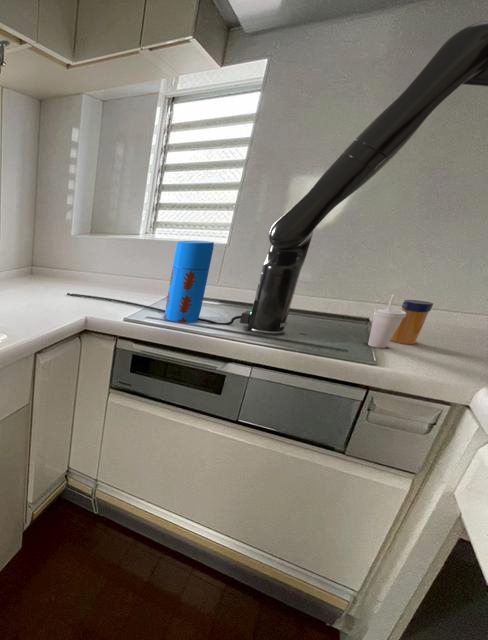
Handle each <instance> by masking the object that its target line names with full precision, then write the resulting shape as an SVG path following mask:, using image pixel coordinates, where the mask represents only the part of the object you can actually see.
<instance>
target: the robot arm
mask: <svg viewBox="0 0 488 640" xmlns="http://www.w3.org/2000/svg"><path fill="white" fill-rule="evenodd" d="M462 85H463V86H465V85H466V86H475V87H476V86H478V87H488V20H483V21H482V20H481V21H478V22H474V23H471V24H470V25H468V26H467V25H466V27H463V28H461V29H460V30H459V31H457V32H455V33H454V34H452V35H451V36H450V37H449V38H448V39H447V40H446V41H445V42H444V43H443V44H442V45H441V46H440V48H439V49H438V50H437V51H436V53H435V54H434V55H433V56H432V58H431V59H430V60H429V61H428V63H426V65H425V66H424V67H423V69H422V70H421V71H420V72H419V73H418V74H417V75H416V77H415V78H414V79H413V81H412V82H411V83H410V84H409V85H408V86H407V87H406V88H405V90H403V92H402V93H401V94H400V95H399V96H398V97H397V98H396V99H394V101H392V103H391V104H389V105H388V106H387V107H386V108H385V109H384V110H383V111H382V112H381V113H379V115H378V116H376V118H375V119H374V120H373V121H371V123H370V124H369V125H368V126H367V127H366V128H365V129H364V130H363V131H362V132H360V133H359V134H358V135H357V136H356V137H355V138H354V140H352V142H351V143H350V144H349V145H348V146H347V147H346V148H345V149H344V150H343V151H342V152H341V153H340V154H339V155H338V157H337V158H336V159H335V160H334V161H333V163H332V164H330V166H328V168H327V169H326V171H325V172H324V173H323V174H322V175H321V176H320V177H319V179H318V180H317V181H316V182H315V184H314V185H313V186H312V187H311V189H309V191H308V192H307V193H306V194H305V195H304V196H303V197H302V198H300V200H299V201H298V202H296V203H295V204H294V205H293V206H292V207H291V208H290V209H289V210H287V211H286V212H285V213H284V214H283V215H282V216H281V217H279V218H278V219H277V220H276V221H275V222H274V223H273V224H272V226H271V227H270V229H269V233H268V240H269V244H270V245H269V248H268V252H267V255H266V258H265V260H264V262H263V264H262V266H261V272H260V275H259V280H258V283H257V288H256V292H255V296H254V298H253V302H252V307H251V309H250V310H245V311H243V312H241V315H237V316H234V317H232V318H231V319H230V321H227V322H218V321H214V320H211V319H207V318H200V317H199V318H198V321H199V322H205V323H209V324H212V325H225V326H230V325H232V324H234V322H235V321H236V320H239V324H244V325H246V331H248V332H253V333H257V334H262V335H272V336H278V335H282V334H284V331H285V327H287V324H288V322H287V320H288V316H289V313H290V309H291V305H292V302H293V298H294V295H295V292H296V288H297V285H298V281H299V278H300V274H301V271H302V268H303V266H304V264H305V261H306V257H307V254H308V251H309V248H310V246H311V242H312V239H313V235H314V230H315V229H316V228H317V227H318V225H320V223H321V222H322V221H323V220H324V219H325V218H326V217H327V215H328V214H330V213H331V211H332V210H334V209H335V208H336V207H337V206H339V205H340V204H341V203H342V202H343V201H345V200H346V199H348V197H350V196H351V195H352V194H354V193H355V192H356V191H358V190H359V189H360V188H362V187H363V186H364V185H365V184H367V182H368V181H370V180H371V179H372V178H373V177H374V176H376V174H377V173H378V172H380V171H381V170H382V169H383V168H384V167H385V166H386V165H387V164H388V163H389V162H390V161H391V160H392V159H393V158H394V157H395V156H396V155H397V154H398V153H399V152H400V151H401V150H402V149H403V148H404V146H405V145H406V144H407V143H408V142H409V140H410V139H411V138H412V137H413V136H414V134H415V133H416V132H417V131H418V130H419V128H420V127H421V126H422V124H423V123H424V122H425V121H426V120H427V118H428V117H429V116H430V115H431V114H432V113H433V111H435V110H436V108H437V107H439V106H440V105H441V103H443V102H444V101H445V100H446V99H448V97H449V96H451V95H452V94H453V93H454V92H455V91H456V90H457V89H459V87H460V86H462ZM70 293H71V292H67V293H66V295H67V296H72V297H82V298H90V299H96V300H104V301H109V302H110V301H111V302H116V303H121V304H126V305H131V306H136V307H140V308H143V309H144V308H145V309H149V310H153V311H157V312H161V313H165V311H166V309H162V308H158V307H154V306H150V305H146V304H141V303H136V302H131V301H127V300H121V299H115V298H110V297H109V298H108V297H104V296H103V297H102V296H96V295H88V294H79V293H72V294H70ZM198 321H197V322H198Z"/></svg>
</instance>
